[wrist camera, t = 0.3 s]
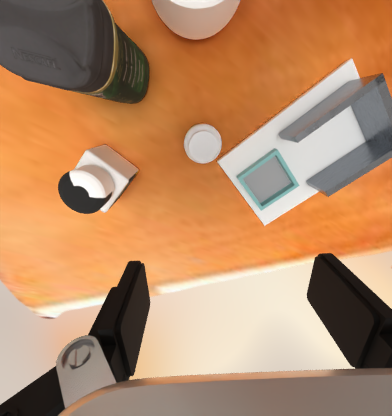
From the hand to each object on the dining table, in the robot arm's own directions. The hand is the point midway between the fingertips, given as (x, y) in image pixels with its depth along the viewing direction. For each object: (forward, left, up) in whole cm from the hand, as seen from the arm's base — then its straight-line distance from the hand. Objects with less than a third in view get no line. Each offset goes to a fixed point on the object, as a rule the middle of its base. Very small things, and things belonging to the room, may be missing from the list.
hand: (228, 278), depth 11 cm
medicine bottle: (+14, -9, -28) cm, 33 cm away
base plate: (-14, +9, -28) cm, 33 cm away
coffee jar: (+2, -19, -28) cm, 34 cm away
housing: (-19, +9, -27) cm, 34 cm away
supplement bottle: (-2, -4, -28) cm, 29 cm away
